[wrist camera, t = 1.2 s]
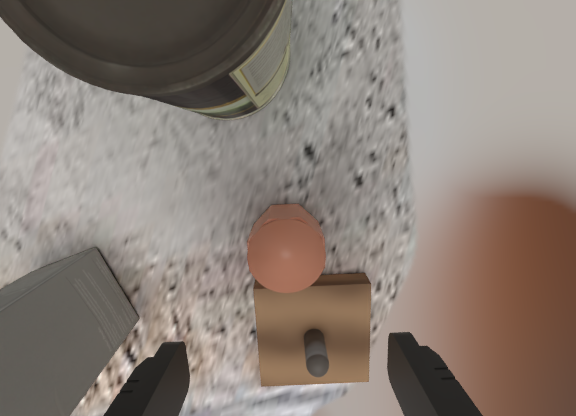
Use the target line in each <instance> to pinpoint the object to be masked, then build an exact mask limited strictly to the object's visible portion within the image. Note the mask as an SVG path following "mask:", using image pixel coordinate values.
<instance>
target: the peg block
mask: <svg viewBox="0 0 576 416" xmlns="http://www.w3.org/2000/svg"><path fill="white" fill-rule="evenodd" d="M253 290H254V302H255V315H256V327H257V339H258V351H259V363H260V376H261V387H262V386H284V385H306V384H329V383H351V382H368V381H369V354H370V310H371V283H370V281H369V279H368V278H367V276H366V274H365V273H354V274H333V275H320V276H319V278H318V279H317V280H316V281H315V282H314V283H313V284H312V285H310V286H309V287H307V288H305V289H303V290H301V291H298V292H294V293H279V292H275V291H272V290H269V289H267V288H266V287H264V286H263V285H261V284H260V283H259V282H258V281H257V280H255V284H254V289H253Z"/></svg>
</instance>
